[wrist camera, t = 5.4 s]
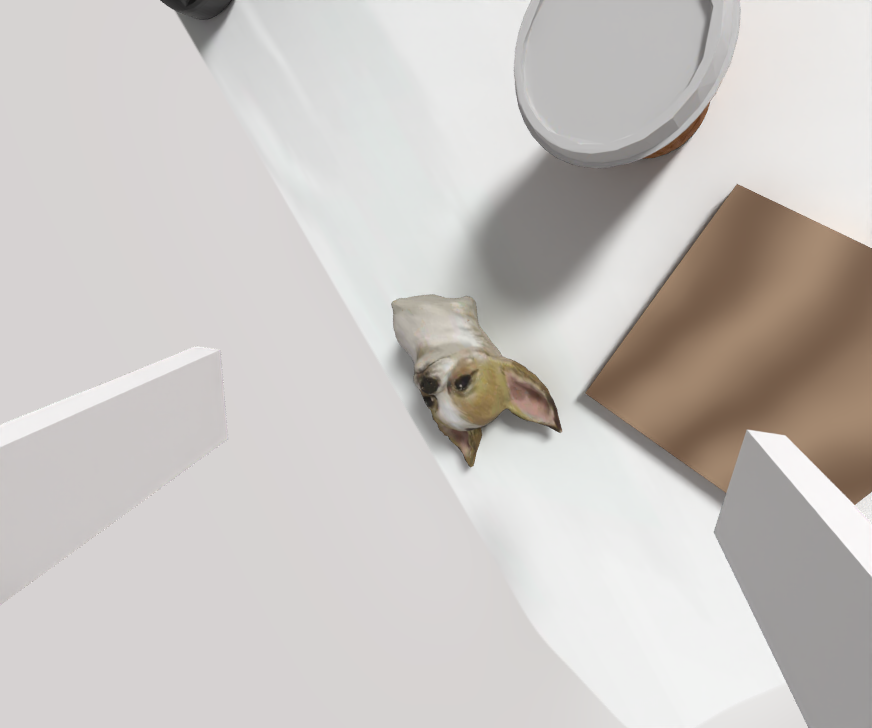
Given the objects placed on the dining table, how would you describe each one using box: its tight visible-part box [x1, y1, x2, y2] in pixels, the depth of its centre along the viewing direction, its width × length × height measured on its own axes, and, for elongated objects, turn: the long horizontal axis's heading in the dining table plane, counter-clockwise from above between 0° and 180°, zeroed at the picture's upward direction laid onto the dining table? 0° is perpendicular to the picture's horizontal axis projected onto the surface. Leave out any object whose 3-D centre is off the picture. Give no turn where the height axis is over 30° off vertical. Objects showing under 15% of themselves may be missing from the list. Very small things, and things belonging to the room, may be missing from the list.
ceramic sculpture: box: [391, 294, 562, 467], centre depth 38 cm, size 11×9×15 cm
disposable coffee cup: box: [514, 0, 741, 168], centre depth 25 cm, size 10×10×12 cm
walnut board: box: [586, 184, 872, 505], centre depth 29 cm, size 16×16×2 cm
